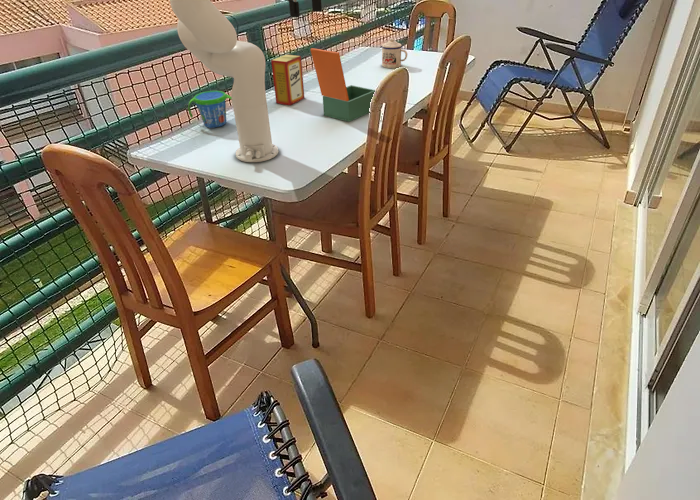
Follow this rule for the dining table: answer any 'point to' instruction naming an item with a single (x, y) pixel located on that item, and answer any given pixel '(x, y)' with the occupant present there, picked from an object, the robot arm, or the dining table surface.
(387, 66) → the teacup with lid
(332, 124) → the dining table surface
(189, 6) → the robot arm
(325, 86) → the lid
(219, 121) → the snack cup
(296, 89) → the baking soda box
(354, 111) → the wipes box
